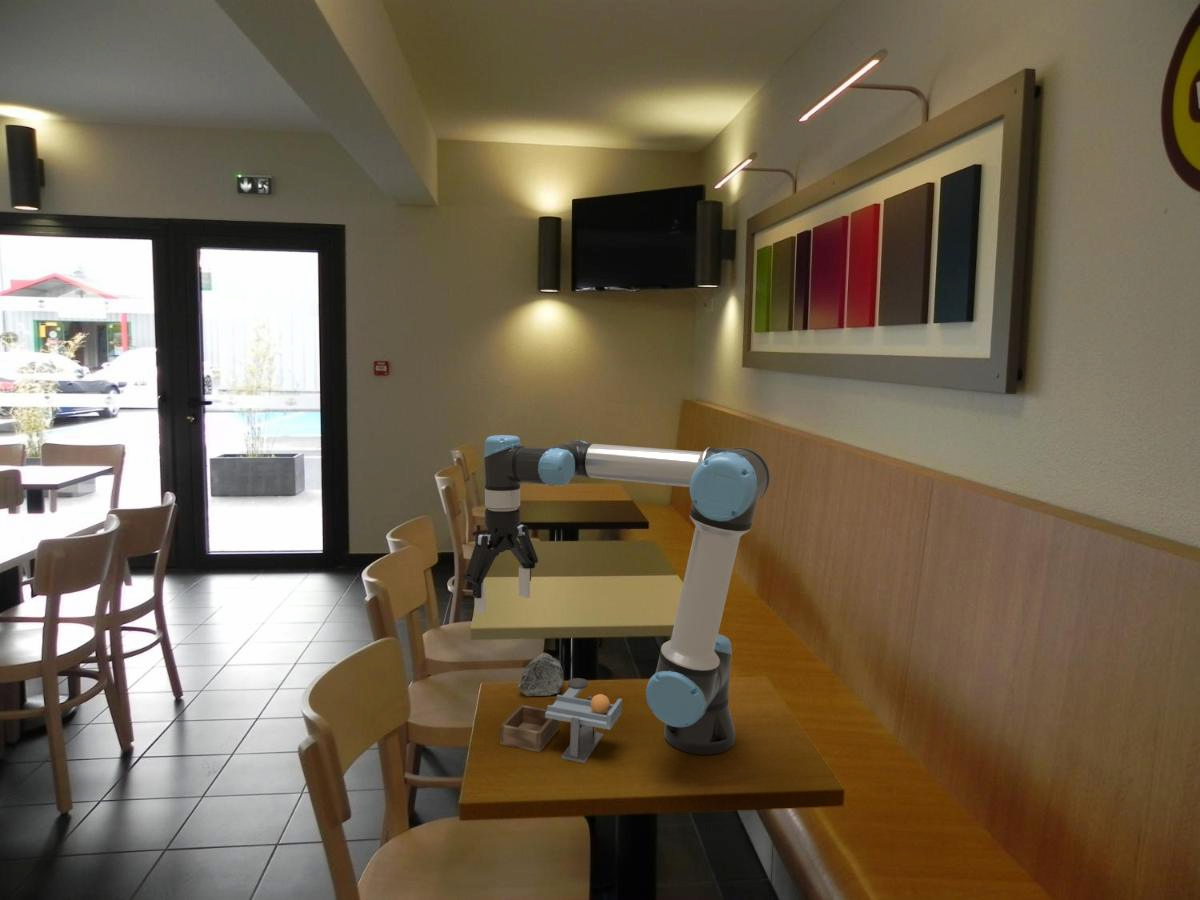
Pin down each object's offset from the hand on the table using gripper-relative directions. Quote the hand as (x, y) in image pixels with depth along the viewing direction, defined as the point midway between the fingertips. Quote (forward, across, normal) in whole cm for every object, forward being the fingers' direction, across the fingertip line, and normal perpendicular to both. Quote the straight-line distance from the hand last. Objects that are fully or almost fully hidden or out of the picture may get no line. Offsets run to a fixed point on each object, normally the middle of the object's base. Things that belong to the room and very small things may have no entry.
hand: (503, 604), depth 170 cm
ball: (+19, -4, +24) cm, 31 cm away
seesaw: (+20, -7, +18) cm, 28 cm away
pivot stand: (+27, -3, +20) cm, 34 cm away
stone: (+27, -18, -4) cm, 33 cm away
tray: (+27, +1, +9) cm, 28 cm away
